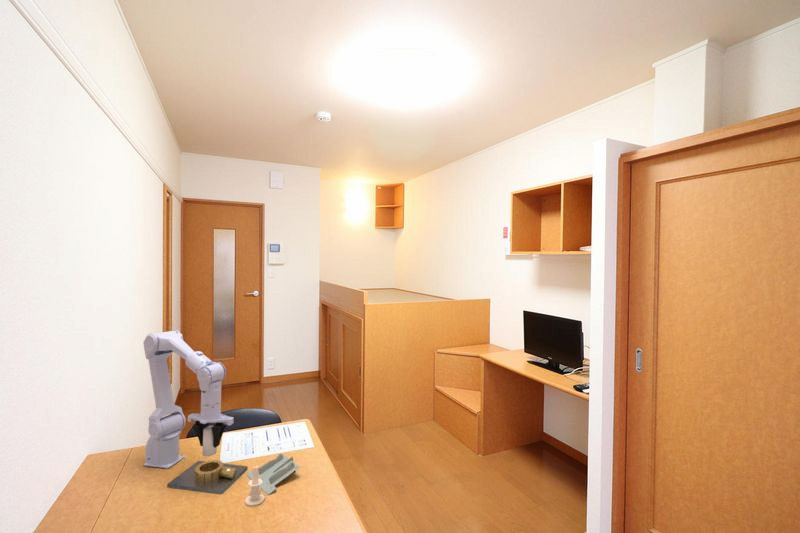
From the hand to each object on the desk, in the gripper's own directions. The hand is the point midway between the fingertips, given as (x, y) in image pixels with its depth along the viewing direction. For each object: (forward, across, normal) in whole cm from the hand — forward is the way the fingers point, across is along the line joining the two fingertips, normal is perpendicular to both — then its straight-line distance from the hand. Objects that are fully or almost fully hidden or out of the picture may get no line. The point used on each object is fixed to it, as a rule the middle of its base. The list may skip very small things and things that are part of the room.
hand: (210, 445), depth 121 cm
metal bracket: (+11, +20, +4) cm, 23 cm away
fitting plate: (+10, 0, 0) cm, 10 cm away
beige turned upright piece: (+11, +20, -8) cm, 24 cm away
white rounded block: (+2, 0, 0) cm, 2 cm away
